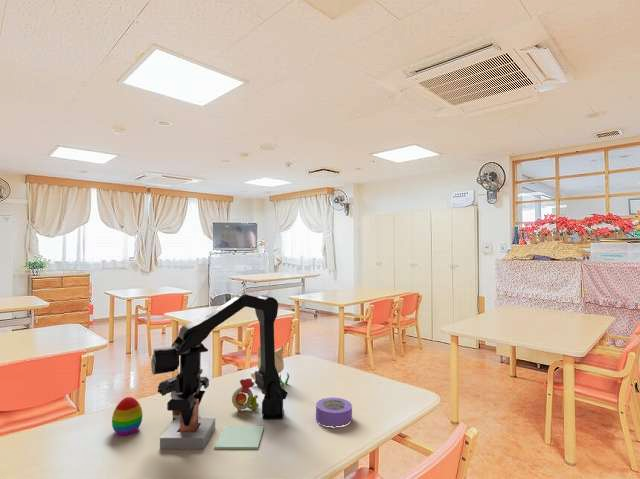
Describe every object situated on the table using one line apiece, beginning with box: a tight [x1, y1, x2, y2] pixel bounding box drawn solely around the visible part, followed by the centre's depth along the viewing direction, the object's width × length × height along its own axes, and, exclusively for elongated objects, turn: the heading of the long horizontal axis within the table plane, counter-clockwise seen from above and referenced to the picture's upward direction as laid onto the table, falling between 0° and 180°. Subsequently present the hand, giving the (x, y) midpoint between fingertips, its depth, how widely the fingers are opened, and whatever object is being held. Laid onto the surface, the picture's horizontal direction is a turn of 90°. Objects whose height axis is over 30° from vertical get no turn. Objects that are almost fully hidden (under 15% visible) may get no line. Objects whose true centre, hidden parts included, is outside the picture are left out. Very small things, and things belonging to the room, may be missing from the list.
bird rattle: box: [231, 377, 260, 412], centre depth 126 cm, size 6×11×9 cm
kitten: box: [250, 346, 290, 387], centre depth 152 cm, size 15×10×15 cm, turn 77°
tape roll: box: [315, 397, 353, 427], centre depth 120 cm, size 12×12×5 cm
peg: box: [180, 399, 200, 432], centre depth 107 cm, size 4×4×10 cm
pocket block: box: [159, 417, 216, 450], centre depth 107 cm, size 12×12×3 cm
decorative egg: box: [111, 396, 143, 436], centre depth 111 cm, size 8×8×10 cm
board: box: [213, 425, 265, 450], centre depth 107 cm, size 12×12×1 cm
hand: (189, 421), depth 107 cm, fingers closed on peg, 4 cm apart
